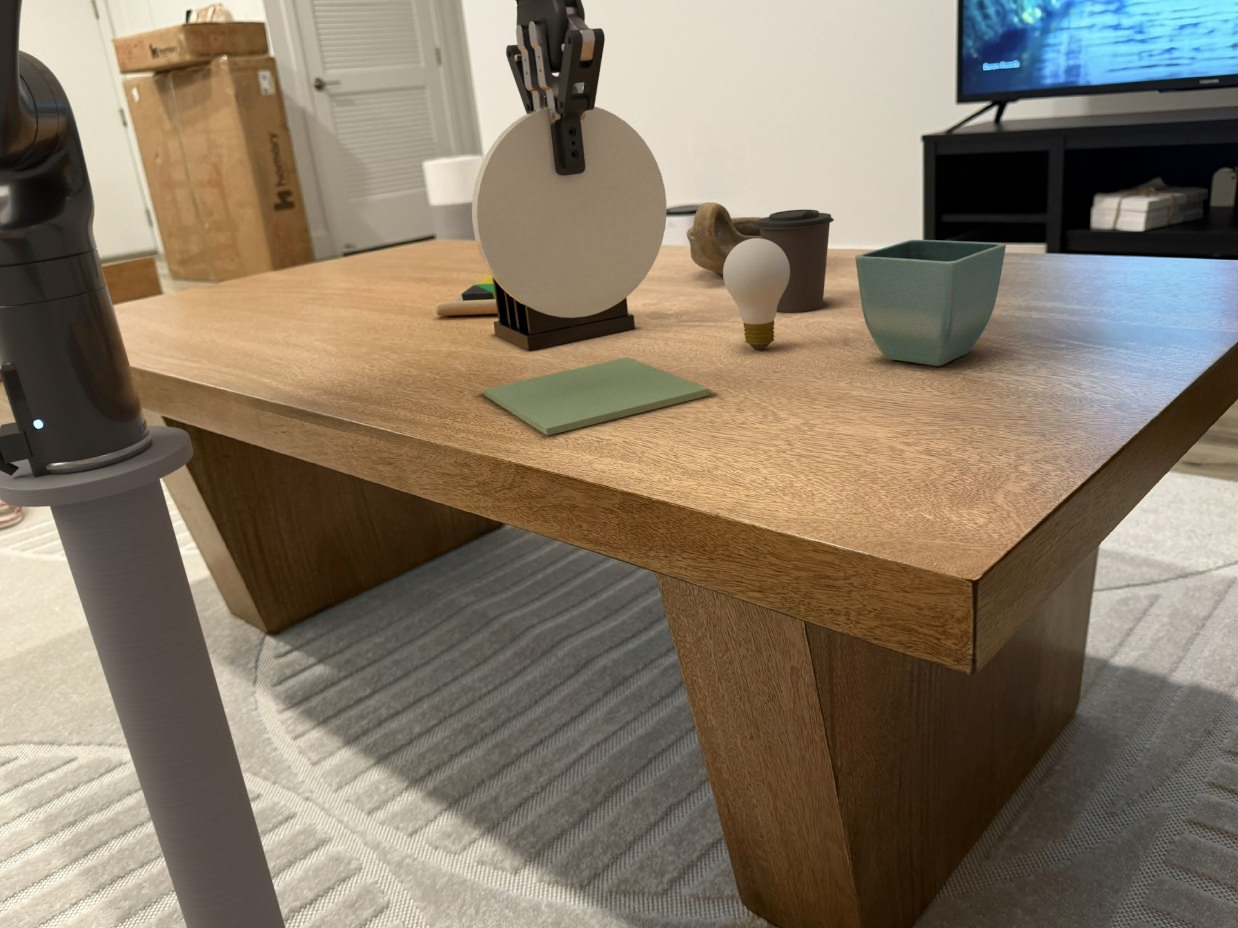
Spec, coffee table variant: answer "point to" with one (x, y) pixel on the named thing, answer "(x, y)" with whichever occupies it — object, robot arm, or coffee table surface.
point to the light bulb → (757, 286)
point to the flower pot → (929, 297)
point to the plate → (569, 215)
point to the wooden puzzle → (472, 300)
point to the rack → (554, 323)
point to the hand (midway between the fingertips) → (566, 173)
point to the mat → (592, 394)
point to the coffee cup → (800, 255)
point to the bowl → (718, 235)
